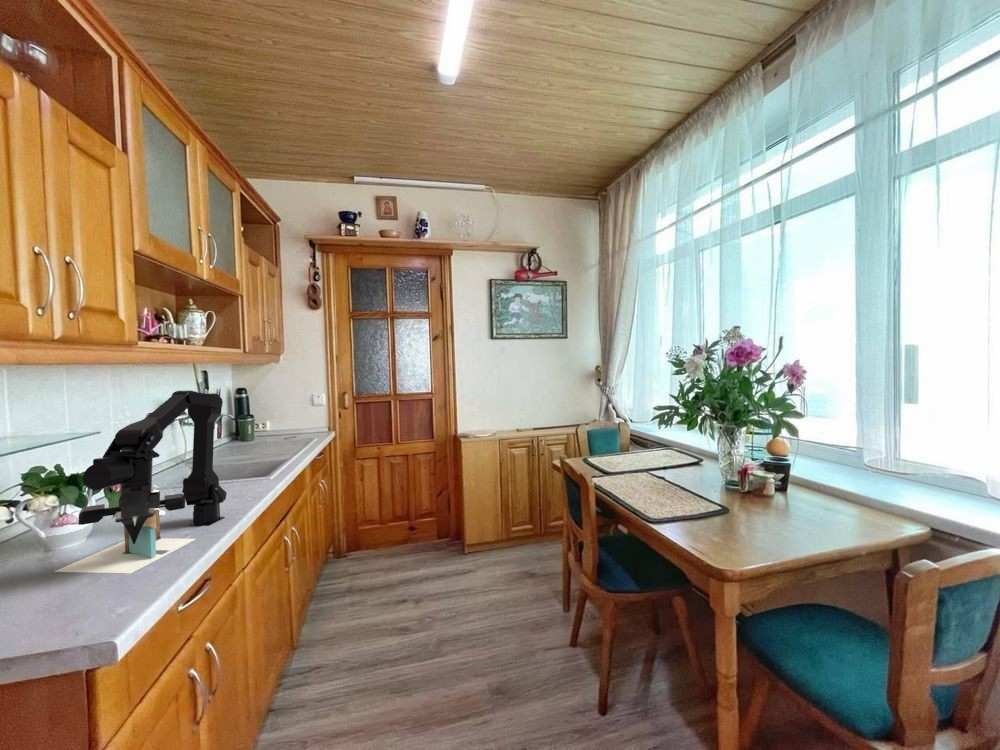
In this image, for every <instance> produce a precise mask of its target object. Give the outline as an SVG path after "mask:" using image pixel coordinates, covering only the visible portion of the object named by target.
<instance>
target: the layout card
mask: <svg viewBox="0 0 1000 750" xmlns="http://www.w3.org/2000/svg"><path fill="white" fill-rule="evenodd" d="M195 540H196V538H171V537H170V538H167V537H166V538H163V537H160V539H157V540H156V556H155V557H152V558H150V557H146V556H142V555H139V554H135V553H131V552H130V553H125V540H124V541H121V542H119V543H116V544H114V545H112V546H109V547H107V548H105V549H103V550H100V551H99V552H95V553H94V554H91V555H89V556H87V557H83V558H82V559H79V560H78V561H75V562H73V563H71V564H68V565H66V566H64V567H62V568H59V569H57V570H55V571H54V572H57V573H59V572H60V573H90V574H91V573H92V574H95V573H97V574H103V573H104V574H132V573H134V572H136V571H138V570H140V569H141V568H143V567H145V566H147V565H149V564H151V563H153V562H155V561H157V560H159V559H161V558H162V557H164V556H166V555H169V554H170V553H172V552H174V551H176V550H178V549H179V548H183V546H186V545H188V544H189V543H191V542H193V541H195Z"/></svg>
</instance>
